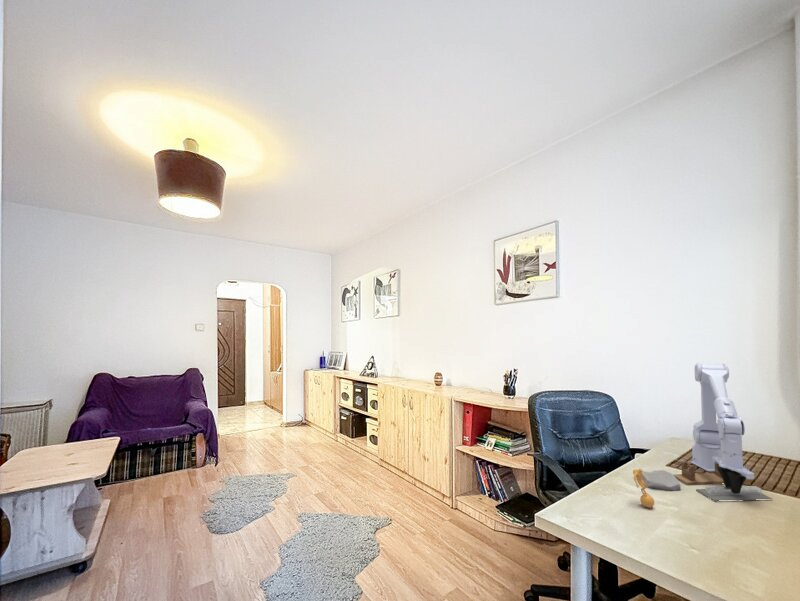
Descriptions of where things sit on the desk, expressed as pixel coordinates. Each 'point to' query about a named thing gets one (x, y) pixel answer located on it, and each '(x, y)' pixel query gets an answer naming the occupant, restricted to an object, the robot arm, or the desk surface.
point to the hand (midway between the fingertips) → (732, 491)
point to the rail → (728, 491)
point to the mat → (733, 496)
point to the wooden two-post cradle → (698, 476)
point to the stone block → (661, 480)
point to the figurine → (645, 498)
